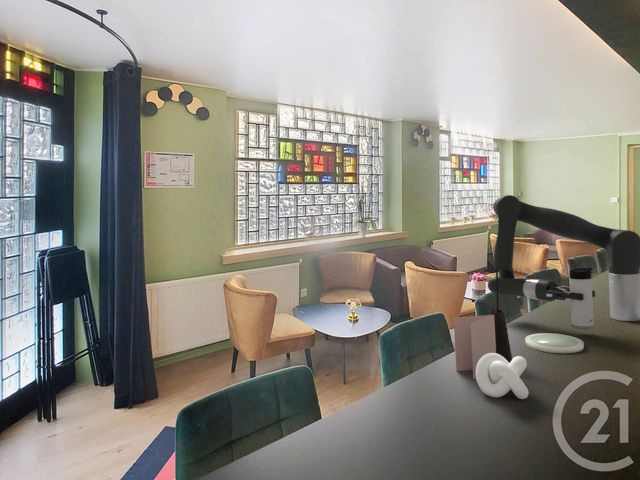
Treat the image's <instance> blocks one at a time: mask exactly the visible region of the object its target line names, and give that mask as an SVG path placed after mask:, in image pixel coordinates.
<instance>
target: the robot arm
mask: <svg viewBox="0 0 640 480" xmlns="http://www.w3.org/2000/svg"><path fill="white" fill-rule="evenodd" d="M492 208H493V211H494V214H495V215H497V221H498V222H497V223H498V224H497V226H498V228H497V236H496V240H495V246H494V251H493V263H492V264H493V265H492V266H493V268H494V269H495V270H496V266H498V296H499V295H501V296H516V297H521V298H529V299H532V300H537V301H544V302H554V301H556V300H559V301H566V300H567V301H570V300H571V299H573V300H580V301H582V300H584V295H583V294H581V293H573V292H571V294H570V285H567V286H566V285H560V286H559V285H558V283H557V282H556V281H554V280H552V279H551V280H550V279H549V280H548V279H541V278H540V279H539V278H521V277H518V278H515V274H514V268H513V265H514V262H513V261H514V248H515V236H516V230H517V229H516V228H517V224H518V223H517V222H522V223H525V224H527V225H530V226H533V227H535V228H537V229H538V230H539V229H540V230H542V231H543V232H547V233H549V234H553V235H556V236H559V237H562V238H565V239H569V240H574V241H580V242H584V243H588V244H591V245H594V246H596V247H599V248H601V249H604V250H606V251H608V252H610V253H611V254H612V255H611V263H610V264H609V265H608V287H609V290H608V291H609V313H610V314H609V315H610V316H609V317H610V318H611V320H612V319H613V320H615V321H623V322H637V321H640V235H639V234H638V233H636V232H635V231H632V230H627V229H616V228H611V227H606V226H602V225H598V224H594V223H593V222H590V221H588V220H586V219H585V218H582V217H580V216H577V215H575V214H572V213H569V212H565V211H563V210H558V209H555V208H554V209H553V208H548V207H542V206H541V207H540V206H536V205H532V204H529V203H526V202H524V201H521V200H520V199H519V198H518V197H517V196H515V195H511V194H506V195H502V196H500V197H498V198H497V199H495V200H494V203H493V206H492ZM487 288H488V290H489V291H490V292H491V293H493V294H495V295H496V288H497V287H496V276H493V277H491V278H490V279H489V280H488V282H487ZM595 297H596V291H595V290H593V289H592V298H595Z"/></svg>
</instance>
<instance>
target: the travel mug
mask: <svg viewBox="0 0 640 480" xmlns="http://www.w3.org/2000/svg"><path fill="white" fill-rule="evenodd" d="M592 271H593V268H592V267H579V268H573V269H570V270H569V273H568V274H569V277H568V279H569V286H570V294H571V292H573V293H581V294H583V295H584V300H582V301H580V300H573V299H571V300H569V303H570V322H571V325H570V326H571V327H572V328H574V329H577V330H587V331H588V330H592V329H594V305H593V304H594V303H593V302H594V301H593V297H592V290H593V278H592Z"/></svg>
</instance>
